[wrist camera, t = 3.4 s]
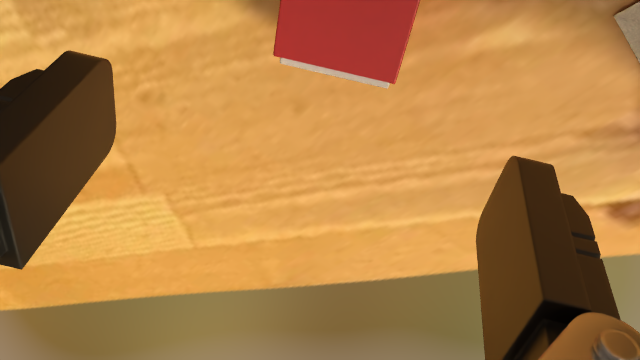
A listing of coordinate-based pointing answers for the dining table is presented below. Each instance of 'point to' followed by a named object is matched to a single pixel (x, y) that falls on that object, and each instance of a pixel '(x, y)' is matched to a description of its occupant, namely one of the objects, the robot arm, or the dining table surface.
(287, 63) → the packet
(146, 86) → the dining table surface
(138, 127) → the dining table surface
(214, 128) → the dining table surface
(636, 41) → the condiment
